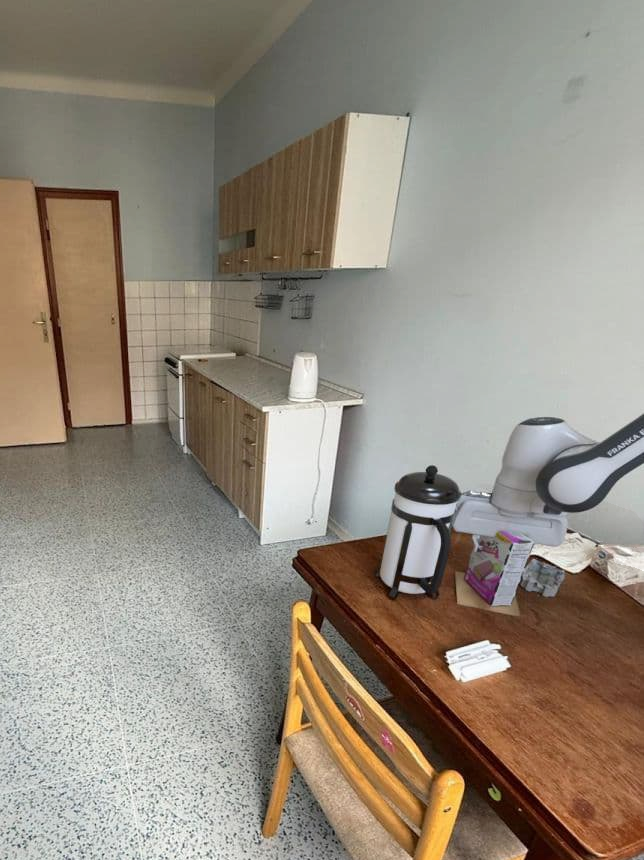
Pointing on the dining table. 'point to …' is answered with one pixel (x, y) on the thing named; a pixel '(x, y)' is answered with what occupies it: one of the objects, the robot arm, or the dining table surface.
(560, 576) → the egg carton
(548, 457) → the robot arm
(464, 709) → the dining table surface
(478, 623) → the dining table surface
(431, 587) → the coffee press
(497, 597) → the candy bar box
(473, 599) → the cork pad
